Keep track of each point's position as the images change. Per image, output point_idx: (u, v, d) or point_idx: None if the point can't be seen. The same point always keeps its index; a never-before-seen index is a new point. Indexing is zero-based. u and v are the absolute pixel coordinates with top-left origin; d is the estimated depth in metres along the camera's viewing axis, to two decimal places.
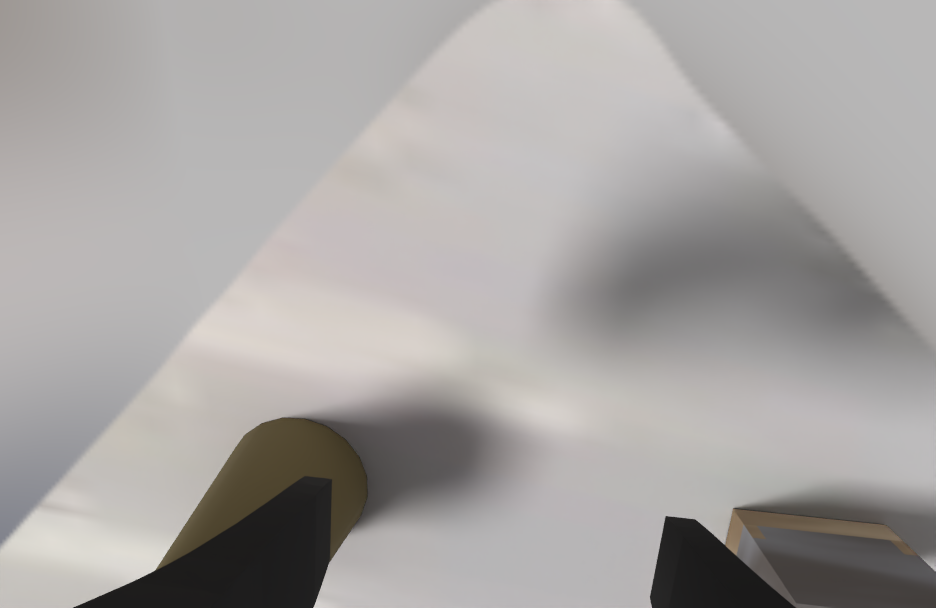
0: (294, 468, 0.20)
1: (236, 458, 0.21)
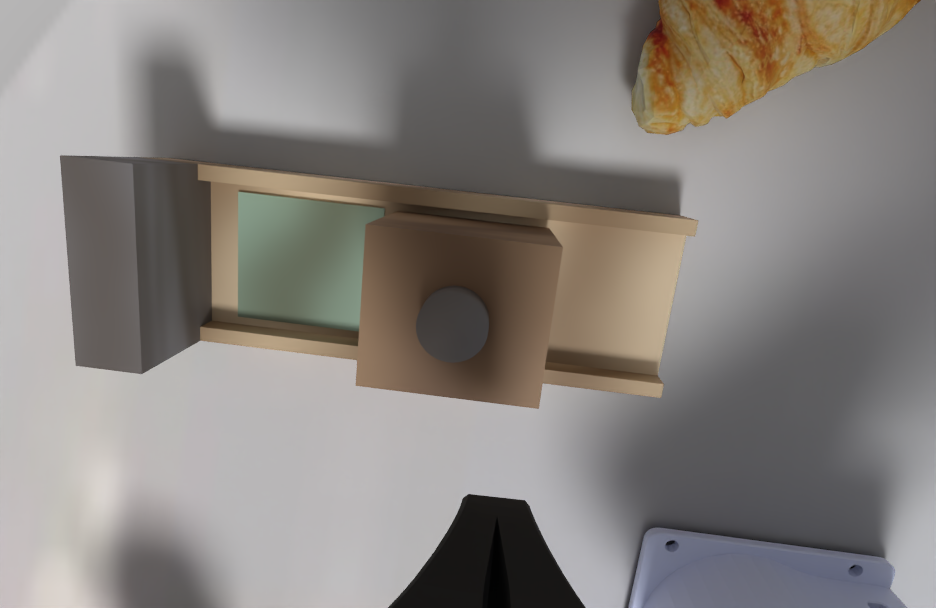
0: None
1: None
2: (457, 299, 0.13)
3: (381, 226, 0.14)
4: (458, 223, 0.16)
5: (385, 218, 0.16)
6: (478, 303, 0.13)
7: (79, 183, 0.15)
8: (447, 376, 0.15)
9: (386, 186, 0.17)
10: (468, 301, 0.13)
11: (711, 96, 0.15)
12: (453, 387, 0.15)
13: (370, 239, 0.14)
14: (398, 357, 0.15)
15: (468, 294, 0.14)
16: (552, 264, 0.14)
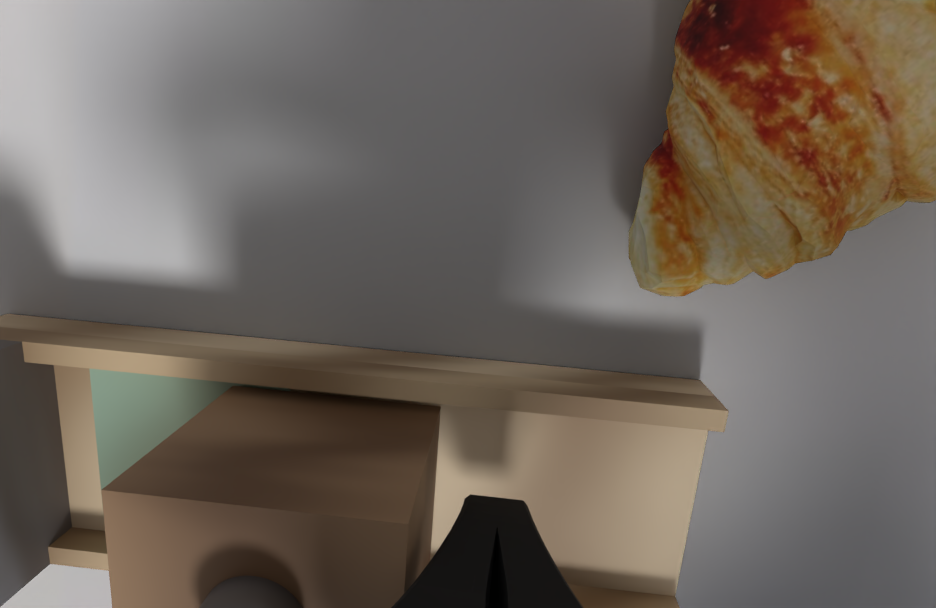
0: None
1: None
2: None
3: (126, 492, 0.09)
4: (293, 428, 0.11)
5: (173, 439, 0.11)
6: None
7: None
8: None
9: (283, 368, 0.12)
10: None
11: (748, 259, 0.10)
12: None
13: (112, 511, 0.09)
14: None
15: None
16: (394, 548, 0.09)
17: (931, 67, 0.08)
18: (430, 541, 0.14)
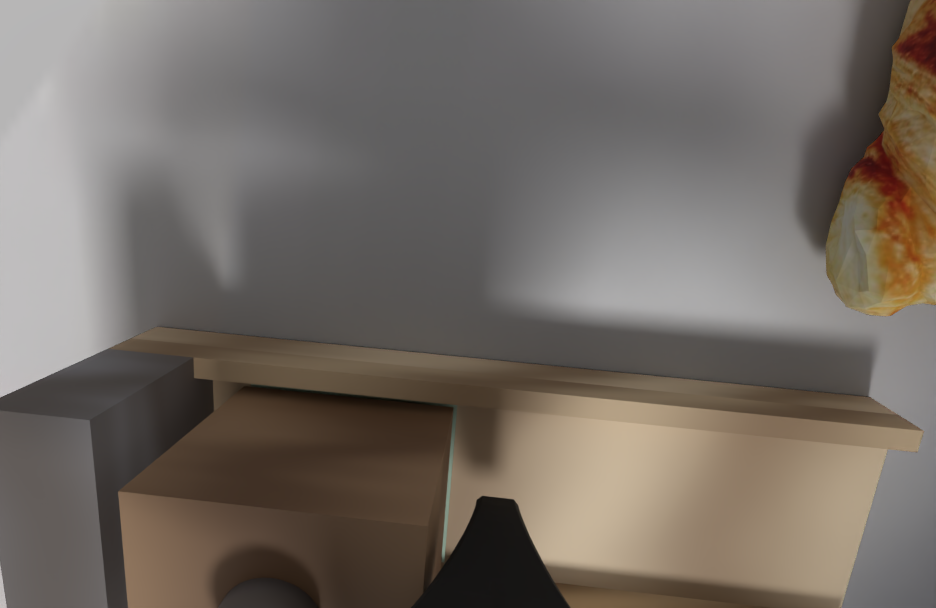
0: None
1: None
2: None
3: (143, 493, 0.09)
4: (307, 429, 0.11)
5: (187, 439, 0.11)
6: None
7: (9, 447, 0.10)
8: None
9: (464, 386, 0.12)
10: None
11: None
12: None
13: (128, 512, 0.09)
14: None
15: None
16: (413, 550, 0.09)
17: None
18: (442, 542, 0.13)
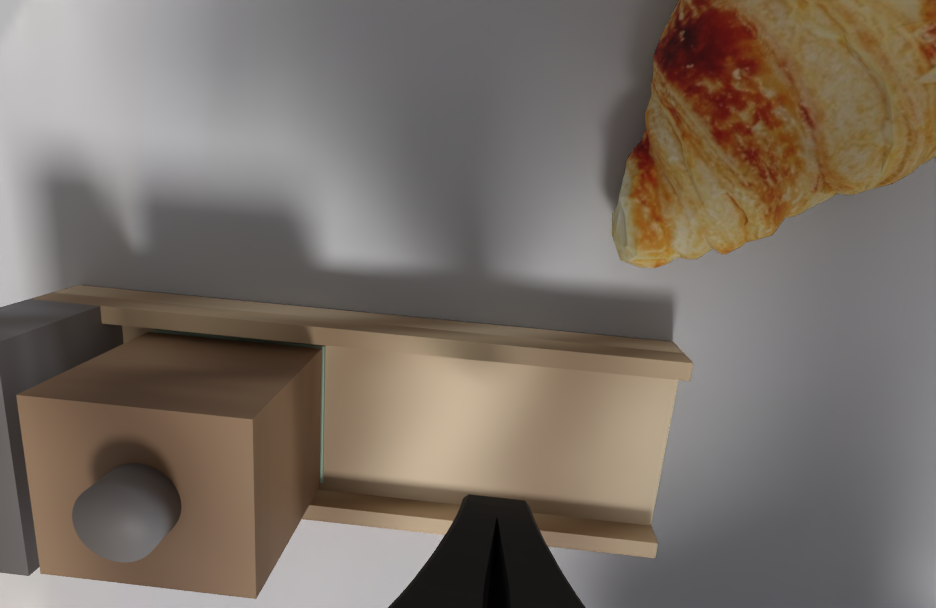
0: None
1: None
2: (115, 492, 0.11)
3: (36, 396, 0.11)
4: (188, 360, 0.14)
5: (84, 365, 0.13)
6: (143, 494, 0.11)
7: None
8: (144, 563, 0.12)
9: (322, 328, 0.15)
10: (128, 494, 0.11)
11: (707, 236, 0.13)
12: (153, 575, 0.12)
13: (25, 411, 0.11)
14: (83, 542, 0.12)
15: (132, 483, 0.11)
16: (243, 439, 0.11)
17: (843, 88, 0.10)
18: (317, 463, 0.16)
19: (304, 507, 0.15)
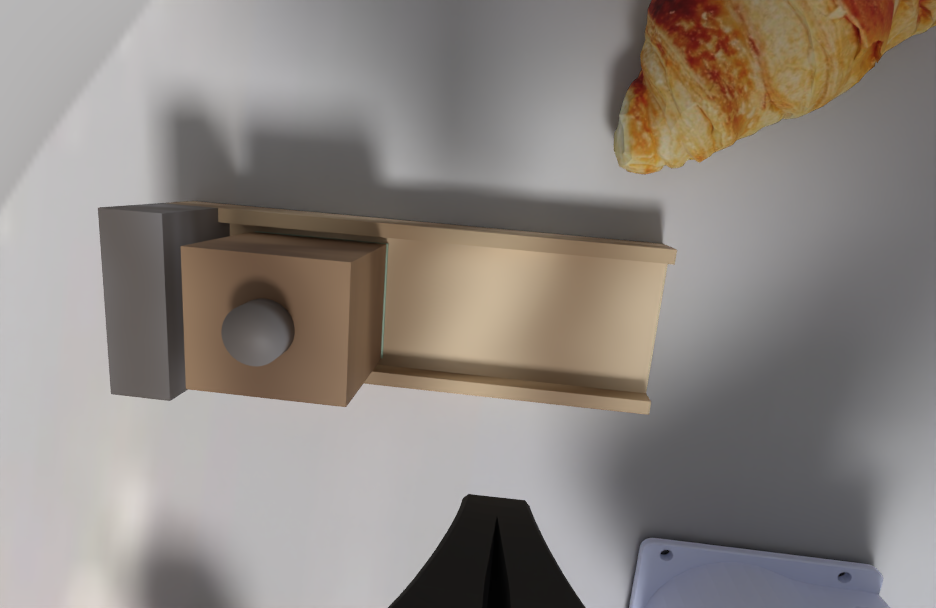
0: None
1: None
2: (254, 310, 0.15)
3: (194, 247, 0.16)
4: (289, 242, 0.18)
5: (217, 239, 0.18)
6: (273, 313, 0.15)
7: (114, 231, 0.17)
8: (263, 379, 0.17)
9: (389, 224, 0.19)
10: (263, 311, 0.15)
11: (683, 143, 0.17)
12: (270, 389, 0.17)
13: (186, 259, 0.16)
14: (219, 363, 0.17)
15: (265, 306, 0.15)
16: (343, 277, 0.16)
17: (777, 24, 0.15)
18: (380, 338, 0.20)
19: (372, 366, 0.20)
